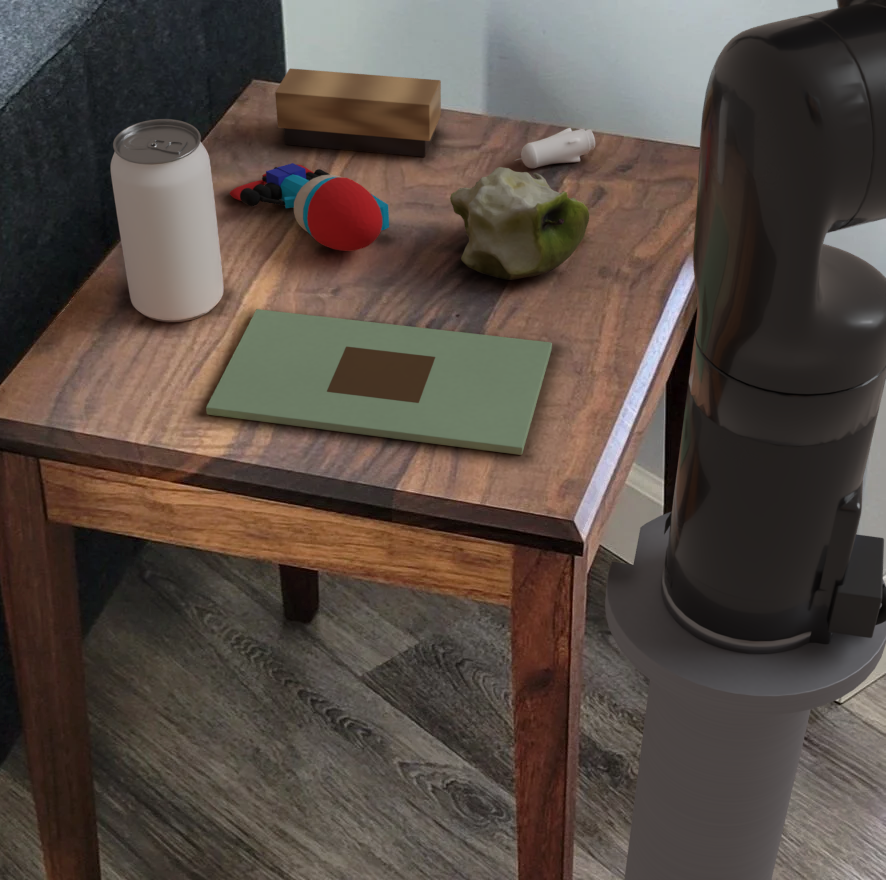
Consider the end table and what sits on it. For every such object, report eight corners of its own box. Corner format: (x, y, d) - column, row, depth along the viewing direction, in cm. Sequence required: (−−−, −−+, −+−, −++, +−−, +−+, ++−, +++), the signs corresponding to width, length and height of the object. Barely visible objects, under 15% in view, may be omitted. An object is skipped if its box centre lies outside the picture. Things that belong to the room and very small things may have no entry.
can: (154, 266, 115) (131, 110, 107) (238, 279, 114) (222, 122, 105) (115, 317, 111) (89, 158, 103) (203, 331, 109) (183, 171, 101)
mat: (551, 349, 106) (552, 341, 105) (522, 455, 98) (522, 447, 98) (256, 316, 110) (256, 308, 110) (206, 414, 103) (205, 406, 102)
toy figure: (223, 218, 122) (330, 276, 111) (215, 154, 120) (325, 207, 109) (308, 194, 126) (421, 248, 115) (303, 131, 123) (418, 180, 112)
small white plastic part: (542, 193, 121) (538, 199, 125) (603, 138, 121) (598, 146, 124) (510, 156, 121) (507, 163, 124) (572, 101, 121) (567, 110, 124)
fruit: (594, 303, 112) (593, 215, 105) (458, 315, 113) (448, 229, 106) (584, 210, 117) (582, 121, 111) (454, 223, 118) (444, 135, 112)
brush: (441, 133, 127) (440, 79, 124) (430, 159, 124) (429, 104, 121) (293, 120, 130) (289, 68, 127) (279, 145, 127) (274, 92, 124)
